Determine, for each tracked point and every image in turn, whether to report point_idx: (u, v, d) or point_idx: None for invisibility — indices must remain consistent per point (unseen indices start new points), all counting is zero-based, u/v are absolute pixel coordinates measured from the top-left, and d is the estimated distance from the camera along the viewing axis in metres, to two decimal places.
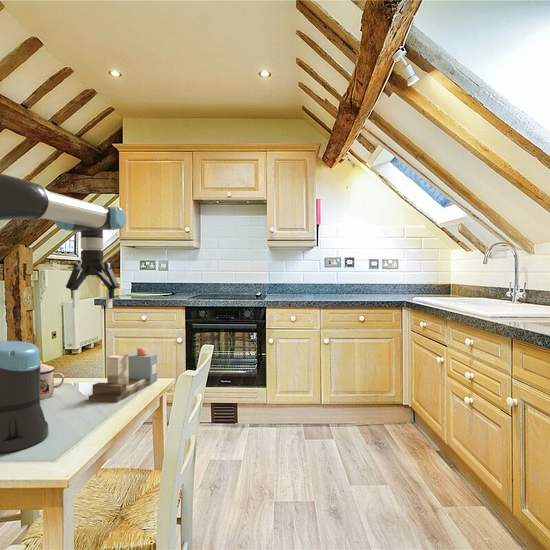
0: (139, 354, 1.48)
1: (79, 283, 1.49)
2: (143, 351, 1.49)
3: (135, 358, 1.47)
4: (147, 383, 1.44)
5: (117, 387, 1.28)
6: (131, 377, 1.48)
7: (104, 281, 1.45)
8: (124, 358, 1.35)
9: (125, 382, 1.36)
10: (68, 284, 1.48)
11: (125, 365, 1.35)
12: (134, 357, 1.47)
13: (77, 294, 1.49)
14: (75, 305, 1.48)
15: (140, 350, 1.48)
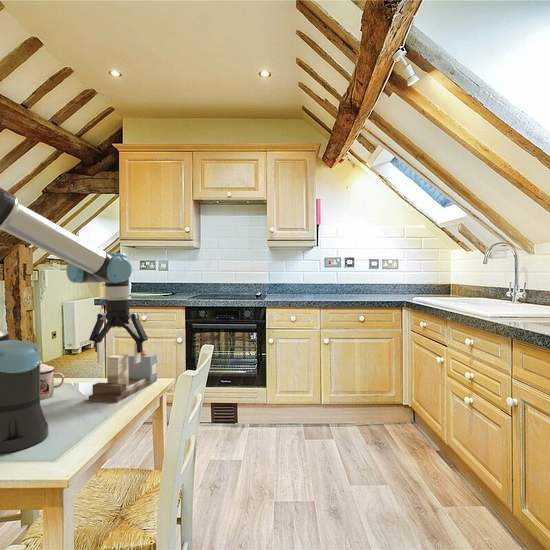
0: None
1: (104, 335, 1.36)
2: (143, 351, 1.49)
3: None
4: (147, 383, 1.44)
5: (117, 387, 1.28)
6: (131, 377, 1.48)
7: (131, 334, 1.33)
8: (124, 358, 1.35)
9: (125, 382, 1.36)
10: (92, 336, 1.36)
11: (125, 365, 1.35)
12: None
13: (102, 347, 1.37)
14: (100, 359, 1.36)
15: None
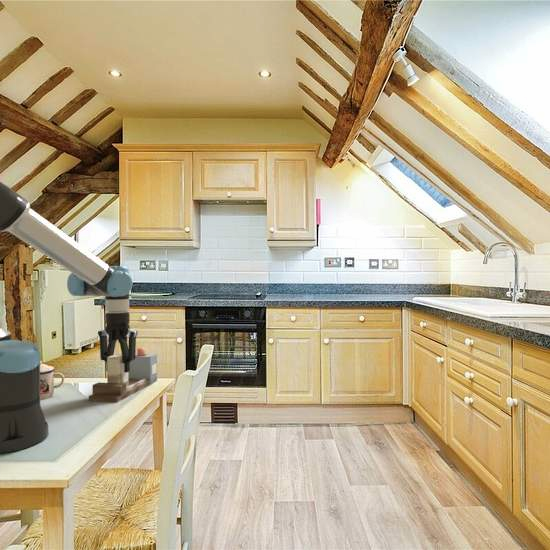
0: (139, 354, 1.48)
1: (112, 351, 1.35)
2: (143, 351, 1.49)
3: (135, 358, 1.47)
4: (147, 383, 1.44)
5: (117, 387, 1.28)
6: (131, 377, 1.48)
7: (123, 351, 1.33)
8: None
9: (125, 382, 1.36)
10: (102, 355, 1.35)
11: None
12: None
13: None
14: None
15: (140, 350, 1.48)
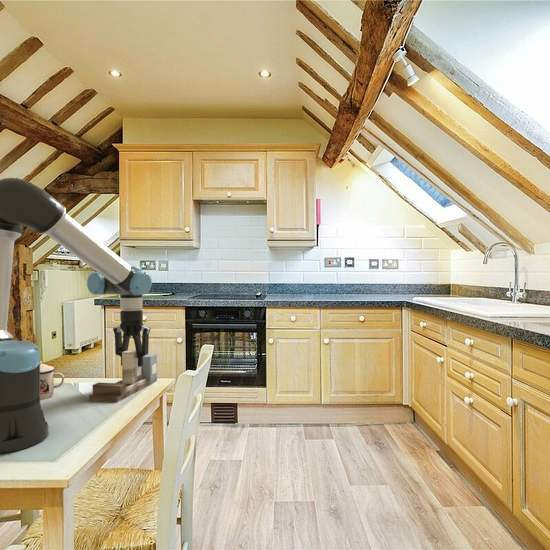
0: None
1: (126, 347, 1.44)
2: None
3: None
4: (147, 383, 1.44)
5: (117, 387, 1.28)
6: None
7: (137, 347, 1.42)
8: None
9: (138, 376, 1.44)
10: (117, 350, 1.43)
11: None
12: None
13: None
14: None
15: None
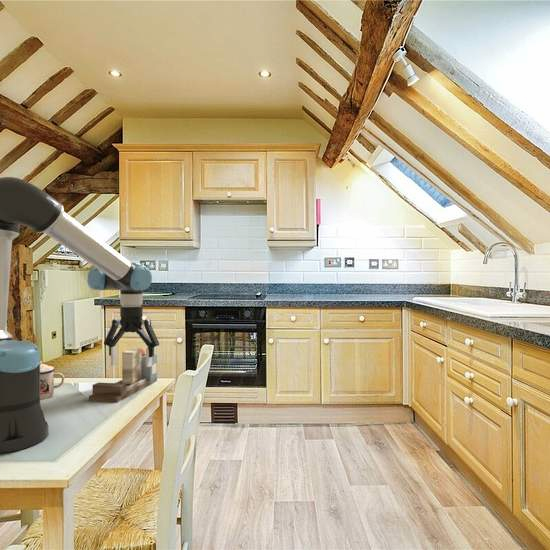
0: None
1: (117, 339, 1.44)
2: (143, 351, 1.49)
3: None
4: (147, 383, 1.44)
5: (117, 387, 1.28)
6: None
7: (144, 339, 1.41)
8: (138, 353, 1.44)
9: (138, 376, 1.44)
10: (106, 341, 1.44)
11: (138, 359, 1.44)
12: None
13: (115, 351, 1.45)
14: (114, 362, 1.44)
15: None
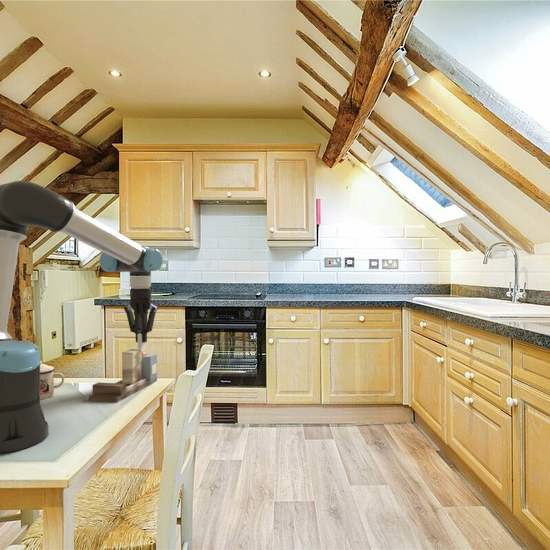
0: None
1: (139, 324, 1.50)
2: (143, 354, 1.49)
3: None
4: (147, 383, 1.44)
5: (117, 387, 1.28)
6: None
7: (142, 323, 1.48)
8: (138, 353, 1.44)
9: (138, 376, 1.44)
10: (131, 327, 1.49)
11: (138, 359, 1.44)
12: None
13: None
14: None
15: None
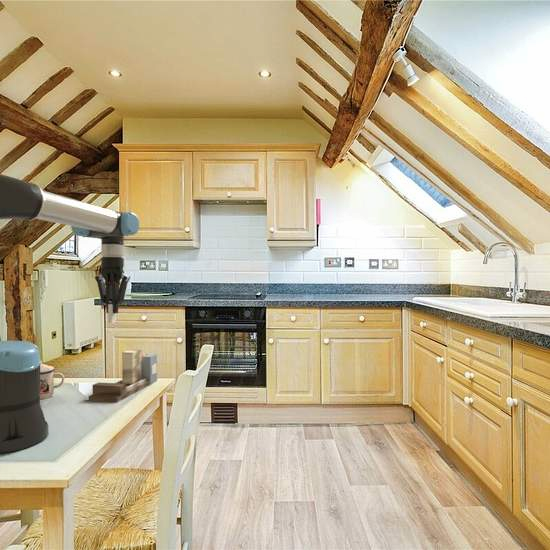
0: None
1: (110, 294, 1.45)
2: None
3: None
4: (147, 383, 1.44)
5: (117, 387, 1.28)
6: None
7: (113, 293, 1.43)
8: (138, 353, 1.44)
9: (138, 376, 1.44)
10: (102, 298, 1.44)
11: (138, 359, 1.44)
12: None
13: None
14: None
15: None
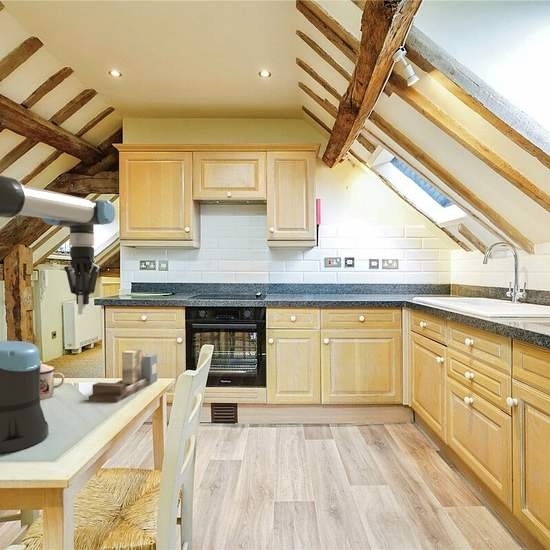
0: None
1: (80, 285, 1.40)
2: None
3: None
4: (147, 383, 1.44)
5: (117, 387, 1.28)
6: None
7: (83, 284, 1.39)
8: (138, 353, 1.44)
9: (138, 376, 1.44)
10: (72, 288, 1.40)
11: (138, 359, 1.44)
12: None
13: None
14: None
15: None
